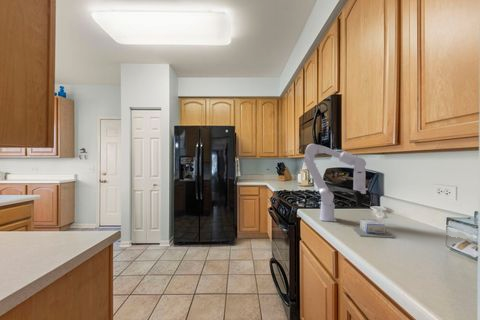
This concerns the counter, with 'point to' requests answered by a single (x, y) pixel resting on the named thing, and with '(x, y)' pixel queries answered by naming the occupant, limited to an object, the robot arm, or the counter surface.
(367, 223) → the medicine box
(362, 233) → the mat
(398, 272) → the counter surface
